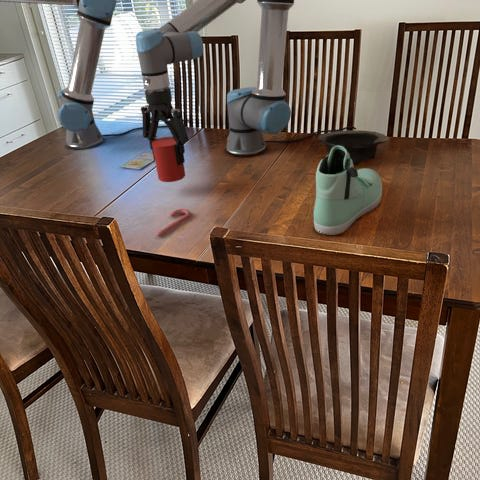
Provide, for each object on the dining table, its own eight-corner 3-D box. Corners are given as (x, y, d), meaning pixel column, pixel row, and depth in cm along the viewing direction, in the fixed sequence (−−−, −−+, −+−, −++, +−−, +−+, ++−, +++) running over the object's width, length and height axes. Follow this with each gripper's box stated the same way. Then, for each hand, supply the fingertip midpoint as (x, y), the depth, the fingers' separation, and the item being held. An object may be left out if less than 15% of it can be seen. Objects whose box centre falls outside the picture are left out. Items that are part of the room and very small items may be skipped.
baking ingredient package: (119, 165, 178) (143, 152, 189) (120, 167, 178) (143, 153, 189) (139, 168, 174) (162, 154, 185) (139, 169, 174) (162, 155, 186)
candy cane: (144, 233, 135) (143, 228, 134) (179, 210, 145) (179, 206, 144) (160, 238, 132) (159, 233, 131) (195, 214, 142) (194, 210, 141)
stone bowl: (346, 175, 157) (346, 148, 153) (303, 158, 178) (302, 133, 173) (403, 157, 166) (405, 130, 162) (356, 142, 186) (356, 118, 182)
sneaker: (389, 187, 148) (396, 123, 138) (356, 242, 123) (361, 168, 112) (346, 181, 154) (350, 119, 144) (306, 232, 129) (307, 161, 118)
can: (155, 182, 151) (148, 146, 145) (162, 171, 158) (156, 136, 152) (181, 182, 149) (176, 146, 143) (187, 170, 157) (182, 136, 150)
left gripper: (-90, 32, 155) (-64, 97, 166) (-8, 23, 162) (12, 86, 173) (-86, 29, 161) (-61, 93, 172) (-6, 20, 168) (13, 82, 179)
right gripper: (121, 89, 141) (135, 161, 153) (179, 94, 131) (189, 170, 143) (137, 83, 147) (150, 152, 159) (194, 87, 137) (203, 161, 149)
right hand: (169, 161), depth 151 cm, fingers closed on can, 9 cm apart
